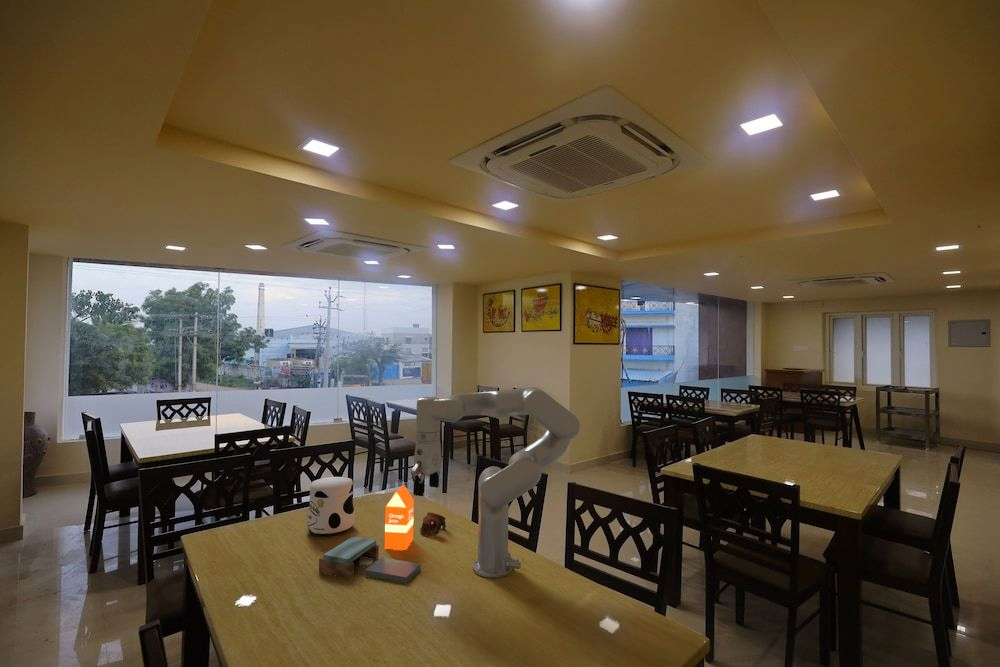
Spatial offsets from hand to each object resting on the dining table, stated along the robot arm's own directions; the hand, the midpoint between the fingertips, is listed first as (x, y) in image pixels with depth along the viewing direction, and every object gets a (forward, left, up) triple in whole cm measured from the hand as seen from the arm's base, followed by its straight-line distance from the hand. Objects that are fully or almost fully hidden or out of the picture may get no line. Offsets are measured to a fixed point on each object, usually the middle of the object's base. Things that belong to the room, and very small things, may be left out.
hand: (426, 491), depth 149 cm
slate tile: (+8, +5, -25) cm, 27 cm away
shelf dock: (+23, +5, -24) cm, 34 cm away
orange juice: (+17, -14, -25) cm, 33 cm away
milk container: (+48, -17, -25) cm, 57 cm away
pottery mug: (+11, -28, -25) cm, 39 cm away
